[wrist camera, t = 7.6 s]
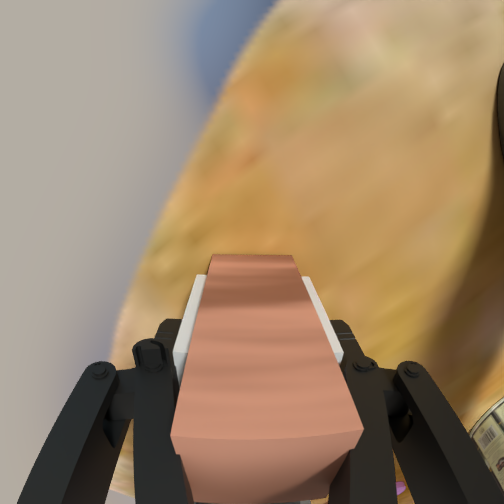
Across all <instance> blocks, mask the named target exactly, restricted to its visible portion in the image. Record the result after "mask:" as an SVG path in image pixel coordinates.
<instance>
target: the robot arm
mask: <svg viewBox="0 0 504 504" xmlns="http://www.w3.org/2000/svg"><path fill="white" fill-rule="evenodd" d="M498 122H499V132H500V140H501V146H502V152H503V157H504V65H503V68H502V71H501V74H500V79H499V87H498ZM206 278H207V275H197V276H196V279H195V282H194V285H193V288H192V291H191V294H190V298H189V301H188V304H187V307H186V310H185V313H184V316H183V319H166V320H164V321H163V322H162V323H161V324H160V326H159V328H158V330H157V333H156V335H155V338H154V339H153V338H149V339H144V340H141V341H139V342H137V343H136V344H135V345H134V346H133V349H132V352H133V356H134V360H135V364H136V367H135V368H132V369H127V370H117V371H116V368H115V366H114V365H112V364H111V363H109V362H102V361H99V362H95V363H93V364H91V365H89V366H88V367H87V368H86V369H85V371H84V372H83V374H82V376H81V378H80V379H79V381H78V382H77V384H76V386H75V388H74V389H73V391H72V393H71V395H70V396H69V398H68V400H67V402H66V403H65V405H64V407H63V409H62V411H61V413H60V415H59V416H58V418H57V420H56V422H55V424H54V426H53V427H52V430H51V431H50V433H49V435H48V437H47V439H46V441H45V443H44V445H43V447H42V449H41V451H40V453H39V455H38V457H37V459H36V461H35V463H34V466H33V468H32V470H31V472H30V474H29V477H28V479H27V481H26V483H25V485H24V488H23V490H22V492H21V495H20V497H19V499H18V502H17V504H105V500H106V497H107V493H108V490H109V487H110V483H111V480H112V477H113V474H114V470H115V467H116V464H117V461H118V458H119V454H120V451H121V448H122V445H123V442H124V439H125V436H126V433H127V430H128V427H129V424H130V421H131V419H134V428H133V455H134V486H135V501H136V504H194V500H193V495H192V490H191V487H190V484H189V481H188V478H187V475H186V472H185V469H184V466H183V462H182V459H181V456H180V455H179V454H176V452H175V449H174V446H173V443H172V440H171V436H170V434H171V429H172V424H173V420H174V415H175V410H176V405H177V400H178V396H179V391H180V387H181V382H182V378H183V373H184V369H185V364H186V360H187V356H188V351H189V347H190V343H191V338H192V334H193V330H194V326H195V322H196V318H197V314H198V310H199V306H200V302H201V298H202V294H203V290H204V286H205V282H206ZM302 280H303V282H304V284H305V286H306V289H307V291H308V293H309V296H310V298H311V300H312V302H313V305H314V307H315V309H316V312H317V314H318V316H319V319H320V321H321V323H322V326H323V328H324V331H325V333H326V335H327V338H328V340H329V342H330V345H331V347H332V350H333V352H334V354H335V357H336V359H337V362H338V364H339V367H340V369H341V372H342V374H343V377H344V379H345V382H346V384H347V387H348V389H349V392H350V394H351V397H352V399H353V402H354V404H355V407H356V409H357V412H358V415H359V417H360V420H361V422H362V425H363V428H364V430H363V432H362V434H361V436H360V438H359V440H358V442H357V444H356V446H355V448H354V449H350V451H349V452H348V454H347V456H346V458H345V460H344V462H343V464H342V465H341V467H340V469H339V471H338V472H337V474H336V476H335V478H334V479H333V481H332V483H331V484H330V487H329V500H328V504H398V502H397V488H396V477H395V467H394V458H393V451H394V453H395V455H396V458H397V460H398V463H399V465H400V467H401V470H402V472H403V475H404V477H405V480H406V482H407V485H408V487H409V490H410V492H411V495H412V497H413V500H414V503H415V504H504V496H503V494H502V492H501V490H500V488H499V487H498V485H497V483H496V481H495V479H494V477H493V475H492V474H491V472H490V470H489V468H488V466H487V465H486V463H485V461H484V459H483V458H482V456H481V454H480V453H479V451H478V449H477V447H476V446H475V444H474V442H473V441H472V439H471V438H470V436H469V434H468V433H467V431H466V429H465V428H464V426H463V425H462V423H461V421H460V420H459V418H458V417H457V415H456V414H455V412H454V411H453V409H452V407H451V406H450V404H449V403H448V401H447V400H446V398H445V397H444V395H443V394H442V392H441V391H440V389H439V388H438V387H437V385H436V384H435V382H434V381H433V379H432V378H431V376H430V375H429V373H428V372H427V371H426V369H425V368H424V367H423V366H422V365H420V364H419V363H417V362H413V361H405V362H402V363H400V364H399V365H398V367H397V370H392V369H384V368H379V367H378V365H377V363H376V362H375V361H374V360H373V359H371V358H369V357H366V356H365V355H364V353H363V352H362V350H361V348H360V346H359V344H358V342H357V340H356V339H355V336H354V334H352V331H351V329H350V327H349V325H347V324H346V323H345V322H344V321H342V320H329V319H328V316H327V314H326V312H325V310H324V308H323V306H322V303H321V301H320V299H319V297H318V295H317V293H316V291H315V289H314V286H313V284H312V282H311V280H310V278H309V277H302ZM392 448H393V450H392Z"/></svg>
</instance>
